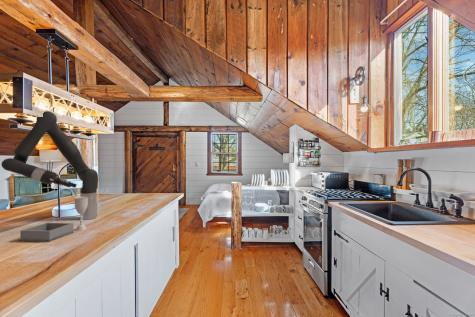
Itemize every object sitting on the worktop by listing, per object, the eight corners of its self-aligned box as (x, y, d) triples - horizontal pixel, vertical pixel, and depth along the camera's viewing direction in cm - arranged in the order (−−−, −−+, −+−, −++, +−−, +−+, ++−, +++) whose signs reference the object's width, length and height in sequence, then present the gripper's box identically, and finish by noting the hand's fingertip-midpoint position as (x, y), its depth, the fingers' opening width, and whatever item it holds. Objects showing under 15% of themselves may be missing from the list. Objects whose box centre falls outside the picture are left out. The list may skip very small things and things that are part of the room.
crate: (47, 231, 131) (47, 222, 131) (73, 232, 130) (73, 223, 130) (20, 240, 116) (20, 230, 116) (49, 241, 115) (49, 231, 115)
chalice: (76, 231, 131) (76, 198, 132) (71, 229, 135) (71, 197, 136) (90, 228, 137) (91, 197, 137) (85, 226, 141) (86, 196, 142)
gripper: (41, 168, 133) (72, 179, 137) (52, 171, 147) (80, 180, 150) (34, 181, 132) (65, 191, 135) (46, 182, 145) (74, 192, 149)
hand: (73, 185), depth 143 cm, fingers open, 8 cm apart
